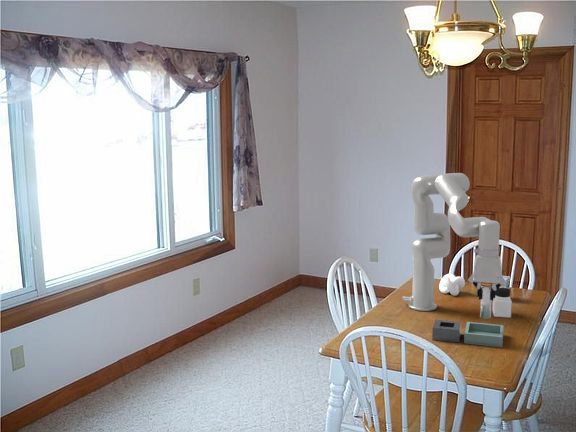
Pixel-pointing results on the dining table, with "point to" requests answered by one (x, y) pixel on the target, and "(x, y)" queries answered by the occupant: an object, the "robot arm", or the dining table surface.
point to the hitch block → (446, 330)
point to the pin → (486, 300)
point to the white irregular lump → (451, 284)
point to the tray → (484, 334)
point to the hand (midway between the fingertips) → (486, 298)
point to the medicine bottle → (502, 303)
